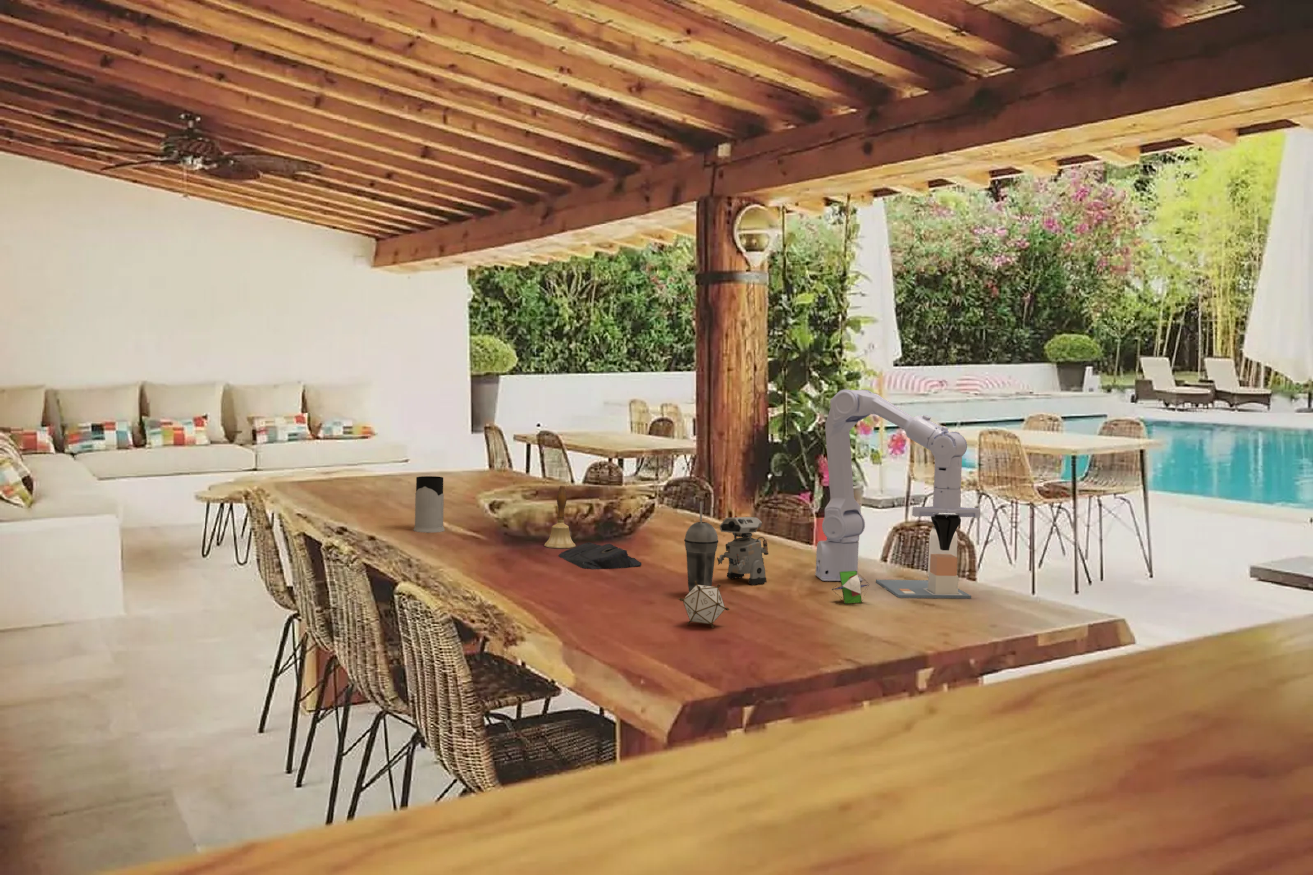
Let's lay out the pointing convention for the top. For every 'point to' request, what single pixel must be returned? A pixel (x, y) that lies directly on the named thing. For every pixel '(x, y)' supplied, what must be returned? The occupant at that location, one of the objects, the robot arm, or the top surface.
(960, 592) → the board
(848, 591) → the geometric puzzle
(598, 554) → the dark slate chunk
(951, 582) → the base block
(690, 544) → the beverage cup
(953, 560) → the terracotta block
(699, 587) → the game die
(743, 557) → the figurine
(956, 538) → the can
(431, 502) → the glass holder
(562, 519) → the hand bell
